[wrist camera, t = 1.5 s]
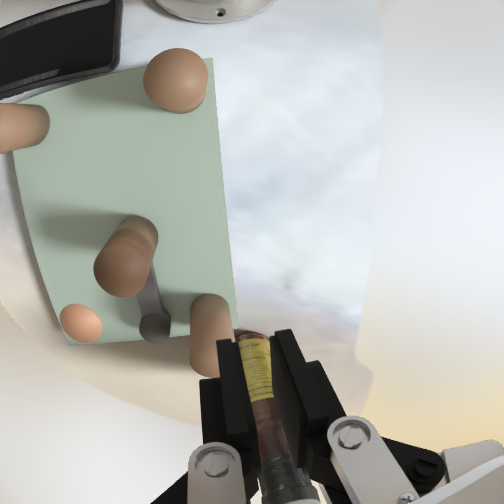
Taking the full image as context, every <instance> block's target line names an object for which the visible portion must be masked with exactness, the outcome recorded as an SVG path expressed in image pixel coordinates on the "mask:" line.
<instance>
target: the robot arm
mask: <svg viewBox="0 0 504 504" xmlns="http://www.w3.org/2000/svg"><path fill="white" fill-rule="evenodd" d="M155 1H156V2H157V3H158V4H159V5H160V7H162V8H163V9H165V10H166V11H168V12H169V13H171V14H173V15H175V16H178V17H180V18H182V19H186V20H190V21H193V22H199V23H208V24H216V23H229V22H235V21H240V20H243V19H246V18H249V17H252V16H254V15H256V14H258V13H260V12H262V11H263V10H265V9H266V8H267V7H269V6H270V5H271V4H273V2H274V1H275V0H155ZM218 14H223V16H222V17H219V16H217V15H218ZM269 340H270V358H271V377H272V391H273V396H274V399H275V403H276V406H277V409H278V413H279V416H280V420H281V423H282V426H283V430H284V433H285V436H286V439H287V443H288V446H289V449H290V453H291V456H292V459H293V462H294V466H295V468H296V469H299V468H301V469H302V472H303V475H307V474H308V475H309V478H310V479H311V480H313V481H316V482H318V483H319V487H320V489H321V491H322V493H323V495H324V497H325V500H326V502H327V504H504V448H503V446H502V445H501V444H500V443H499V442H497V441H495V440H485V441H481V442H478V443H474V444H470V445H465V446H460V447H456V448H450V449H446V450H443V451H442V453H436V452H433V451H431V450H427V449H423V448H418V447H415V446H412V445H408V444H405V443H401V442H398V441H394V440H391V439H387V438H384V437H381V436H380V435H379V434H378V432H377V430H376V429H375V427H374V426H373V425H372V424H371V423H370V422H369V421H368V420H366V419H364V418H362V417H359V416H346V414H345V412H344V410H343V407H342V405H341V403H340V401H339V399H338V397H337V395H336V393H335V391H334V389H333V387H332V385H331V383H330V381H329V379H328V377H327V375H326V373H325V371H324V369H323V367H322V365H321V363H320V362H319V361H318V360H316V361H312V362H307V363H306V361H305V359H304V357H303V355H302V352H301V350H300V348H299V346H298V343H297V341H296V339H295V337H294V334H293V332H292V330H291V329H286V330H280V331H275V336H270V338H269ZM216 347H217V356H218V365H219V373H220V377H218V378H210V379H201V380H200V381H199V386H200V404H201V420H202V434H203V445H202V446H199V447H198V448H197V449H196V450H194V451H193V453H192V454H191V456H190V459H189V463H188V471H187V472H186V473H185V474H184V475H183V476H182V477H181V478H180V479H179V480H177V481H176V482H175V483H174V484H173V485H172V486H171V487H169V488H168V489H167V490H166V491H165V492H164V493H162V494H161V495H160V496H159V497H158V498H157V499H156V500H154V501H153V502H152V503H151V504H251V502H250V499H251V498H252V497H253V496H254V495H255V493H256V492H257V491H258V490H259V487H258V480H257V477H258V476H263V475H262V467H261V458H260V450H259V442H258V434H257V428H256V423H255V418H254V414H253V409H252V405H251V400H250V395H249V391H248V386H247V382H246V377H245V372H244V367H243V363H242V358H241V353H240V348H239V343H238V341H237V342H232V339H231V338H229V339H221V340H216Z"/></svg>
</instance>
